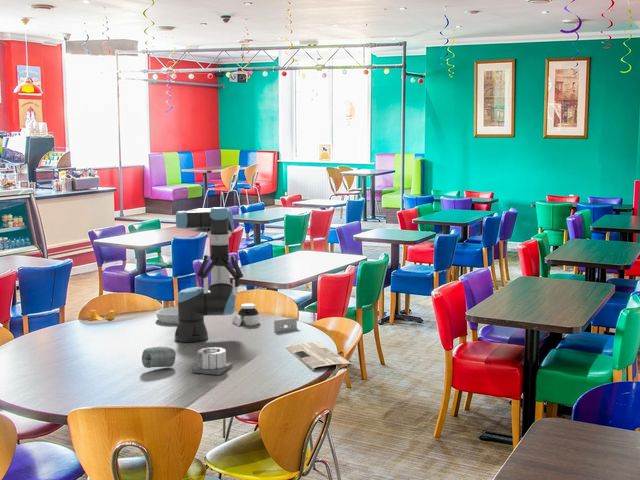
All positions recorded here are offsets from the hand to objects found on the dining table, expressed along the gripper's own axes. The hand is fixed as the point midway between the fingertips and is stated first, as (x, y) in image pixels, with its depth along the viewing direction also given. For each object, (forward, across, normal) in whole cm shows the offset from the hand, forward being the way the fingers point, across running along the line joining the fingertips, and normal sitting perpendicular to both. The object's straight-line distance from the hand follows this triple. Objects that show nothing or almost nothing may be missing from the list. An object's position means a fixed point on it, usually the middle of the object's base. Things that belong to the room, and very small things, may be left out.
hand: (220, 293), depth 324 cm
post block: (+27, +6, -21) cm, 34 cm away
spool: (+27, -16, -28) cm, 42 cm away
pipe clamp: (+27, -85, +38) cm, 97 cm away
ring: (+25, +6, -21) cm, 33 cm away
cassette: (+27, +13, +43) cm, 53 cm away
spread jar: (+27, -11, +50) cm, 58 cm away
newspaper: (+28, +41, +9) cm, 50 cm away
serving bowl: (+27, -48, +48) cm, 73 cm away
